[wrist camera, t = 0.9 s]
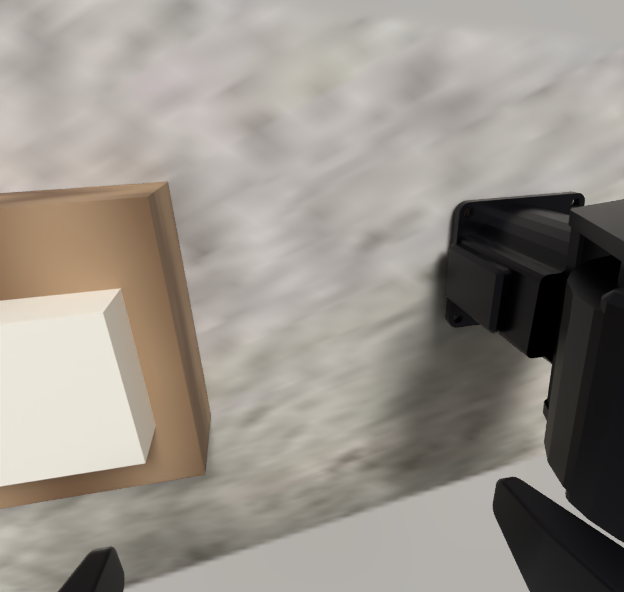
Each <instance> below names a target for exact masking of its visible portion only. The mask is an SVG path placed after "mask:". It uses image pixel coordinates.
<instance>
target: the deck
mask: <svg viewBox="0 0 624 592" xmlns="http://www.w3.org/2000/svg"><path fill="white" fill-rule="evenodd" d="M120 288H121V291H122V295H123V299H124V303H125V307H126V311H127V315H128V319H129V323H130V327H131V330H132V334H133V338H134V342H135V346H136V350H137V354H138V358H139V362H140V366H141V370H142V374H143V377H144V381H145V385H146V389H147V393H148V397H149V401H150V405H151V409H152V413H153V417H154V420H155V424H156V427H155V431H154V434H153V438H152V441H151V445H150V448H149V452H148V456H147V459H146V463H144V464H138V465H132V466H126V467H119V468H113V469H107V470H100V471H94V472H88V473H82V474H75V475H69V476H63V477H57V478H50V479H44V480H38V481H32V482H25V483H19V484H13V485H6V486H0V509H1V508H7V507H13V506H19V505H25V504H31V503H37V502H43V501H49V500H55V499H61V498H67V497H73V496H79V495H85V494H91V493H97V492H103V491H109V490H115V489H121V488H127V487H133V486H139V485H145V484H151V483H157V482H163V481H169V480H175V479H181V478H187V477H193V476H199V475H205V470H206V460H207V450H208V439H209V429H210V419H211V413H210V408H209V402H208V397H207V392H206V386H205V381H204V375H203V370H202V365H201V359H200V354H199V348H198V343H197V338H196V332H195V327H194V321H193V316H192V310H191V305H190V300H189V294H188V289H187V283H186V278H185V273H184V267H183V262H182V256H181V251H180V246H179V240H178V235H177V229H176V224H175V218H174V213H173V208H172V202H171V197H170V191H169V186H168V182H158V183H143V184H129V185H114V186H100V187H85V188H71V189H57V190H42V191H28V192H13V193H0V301H2V300H12V299H22V298H32V297H42V296H51V295H61V294H71V293H81V292H90V291H100V290H110V289H120Z"/></svg>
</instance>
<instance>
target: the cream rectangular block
mask: <svg viewBox="0 0 624 592" xmlns="http://www.w3.org/2000/svg"><path fill="white" fill-rule="evenodd" d="M155 427H156V424H155V420H154V417H153V413H152V409H151V405H150V401H149V397H148V393H147V389H146V385H145V381H144V377H143V374H142V370H141V366H140V362H139V358H138V354H137V350H136V346H135V342H134V338H133V334H132V330H131V327H130V323H129V319H128V315H127V311H126V307H125V303H124V299H123V295H122V291H121V288H120V289H110V290H100V291H90V292H81V293H71V294H61V295H51V296H42V297H32V298H22V299H12V300H2V301H0V486H6V485H13V484H19V483H25V482H32V481H38V480H44V479H50V478H57V477H63V476H69V475H75V474H82V473H88V472H94V471H100V470H107V469H113V468H119V467H126V466H132V465H138V464H144V463H146V459H147V456H148V452H149V448H150V445H151V441H152V438H153V434H154V431H155Z"/></svg>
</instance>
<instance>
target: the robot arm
mask: <svg viewBox="0 0 624 592" xmlns="http://www.w3.org/2000/svg"><path fill="white" fill-rule="evenodd" d="M573 199H574V203H573V205H572V206H571V202H572V200H573ZM584 203H585V198H584V196H583V195H582V194H581V193H576V192H563V193H551V194H539V195H527V196H515V197H503V198H491V199H479V200H467V201H463V202H461V203H460V204H459V205H458V206H457V207H456V210H455V218H454V229H453V240H452V246H451V247H450V248H449V253H448V264H447V275H446V286H445V295H446V296H447V305H446V316H445V317H446V321H447V322H448V323H449V324H450V325H451V326H453V327H464V326H472V325H480V324H481V325H482V326H483V327H484V328H486V329H487V330H488V331H489V332H491V333H498V334H500V335H501V336H502V337H503V338H505V339H506V340H507V341H509V342H510V343H511V344H512V345H514V346H515V347H516V348H517V349H519V350H520V351H521V352H522V353H524V354H525V355H526V356H528V357H529V358H538V357H543V358H544V359H546V360H547V361H548V362H550V363H551V364H552V369H551V376H550V383H549V391H548V398H547V399H546V400H545V401H544V407H543V414H544V416H545V418H546V420H547V424H546V431H545V438H544V444H545V449H546V455H547V460H548V463H549V465H550V466H551V468H552V470H553V471H554V473H555V474H556V476H557V478H558V479H559V481H560V482H561V484H562V486H563V487H564V488H565V489H566V493H565V494H566V498H567V499H568V501H569V502H570V503H571V504H572V505H573V506H574V507H575V508H576V509H578V510H579V511H580V512H581V513H582V514H583V515H584V516H585V517H586V518H587V519H589V520H590V521H592V522H593V523H595V524H596V525H597V526H599V527H600V528H602V529H603V530H605V531H606V532H608V533H609V534H611V535H612V536H614V537H615V538H617V539H618V540H620V541H622V542H624V199H623V200H617V201H611V202H605V203H600V204H594V205H588V206H584ZM467 208H470V212H469V214H468V215H467V216H464V212H465V210H466V209H467ZM458 314H459V316H458V318H457V319H455V320H453V319H454V317H455V316H456V315H458ZM493 512H494V515H495V517H496V519H497V522H498V524H499V526H500V528H501V530H502V533H503V535H504V537H505V539H506V541H507V544H508V546H509V548H510V550H511V552H512V554H513V557H514V559H515V561H516V563H517V565H518V567H519V570H520V572H521V574H522V576H523V578H524V580H525V582H526V585H527V587H528V589H529V591H530V592H624V548H623V547H622V546H620V545H619V544H617V543H616V542H614V541H613V540H611V539H609V538H608V537H607V536H605V535H604V534H602V533H600V532H599V531H598V530H596V529H595V528H593V527H591V526H590V525H588V524H587V523H586V522H584V521H583V520H581V519H579V518H578V517H576V516H575V515H573V514H572V513H570V512H569V511H567V510H566V509H564V508H563V507H561V506H560V505H558V504H557V503H555V502H553V501H552V500H551V499H549V498H548V497H546V496H545V495H543V494H542V493H540V492H539V491H537V490H536V489H534V488H533V487H531V486H530V485H528V484H527V483H525V482H524V481H522V480H521V479H518V478H516V477H509V478H503V479H499V480H498V481H497V483H496V488H495V494H494V500H493ZM123 589H124V571H123V568H122V565H121V563H120V560H119V557H118V555H117V552H116V550H115V548H113V547H105V548H99V549H95V550H92V551H91V552H90V553H89V554H88V555H87V556H86V557H85V558H84V560H83V561H82V562H81V563H80V565H79V566H78V567H77V568H76V570H75V571H74V572H73V573H72V575H71V576H70V577H69V578H68V580H67V581H66V582H65V583H64V585H63V586H62V587H61V588H60V590H59V591H58V592H123Z"/></svg>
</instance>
